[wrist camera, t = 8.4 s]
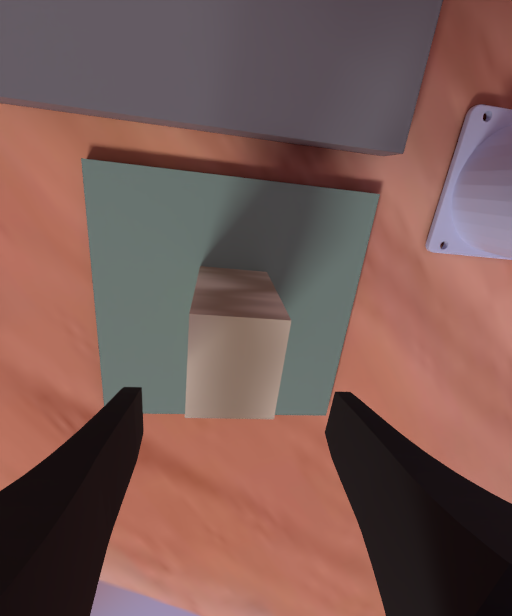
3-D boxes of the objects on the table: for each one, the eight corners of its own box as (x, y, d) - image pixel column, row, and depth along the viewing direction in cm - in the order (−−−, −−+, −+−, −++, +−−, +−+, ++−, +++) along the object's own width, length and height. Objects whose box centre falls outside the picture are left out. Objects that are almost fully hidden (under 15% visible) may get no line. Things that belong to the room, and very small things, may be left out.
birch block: (266, 271, 19) (291, 320, 12) (256, 344, 21) (273, 419, 14) (200, 266, 18) (189, 314, 12) (196, 341, 20) (185, 417, 14)
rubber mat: (374, 193, 18) (379, 194, 18) (323, 410, 24) (325, 415, 24) (86, 159, 16) (81, 158, 15) (107, 407, 22) (104, 413, 21)
